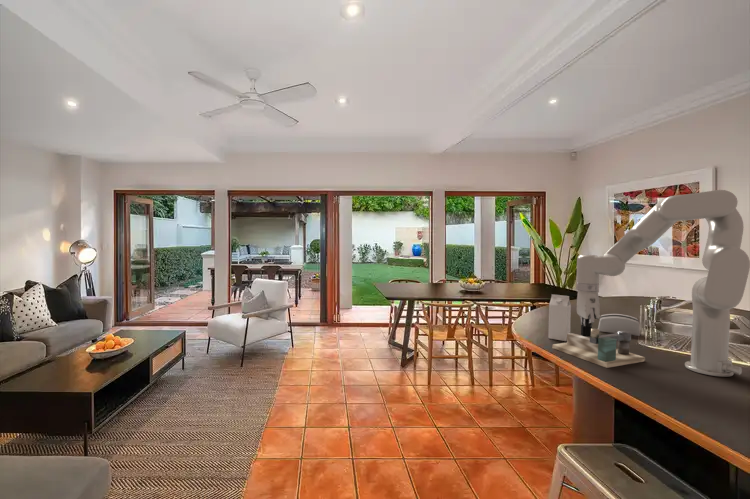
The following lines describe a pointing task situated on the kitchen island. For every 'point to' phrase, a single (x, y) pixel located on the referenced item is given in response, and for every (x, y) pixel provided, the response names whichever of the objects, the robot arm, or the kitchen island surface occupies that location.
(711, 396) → the kitchen island surface
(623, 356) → the base
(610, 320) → the grey curved block
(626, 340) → the swing bar
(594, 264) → the robot arm
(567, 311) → the milk carton
